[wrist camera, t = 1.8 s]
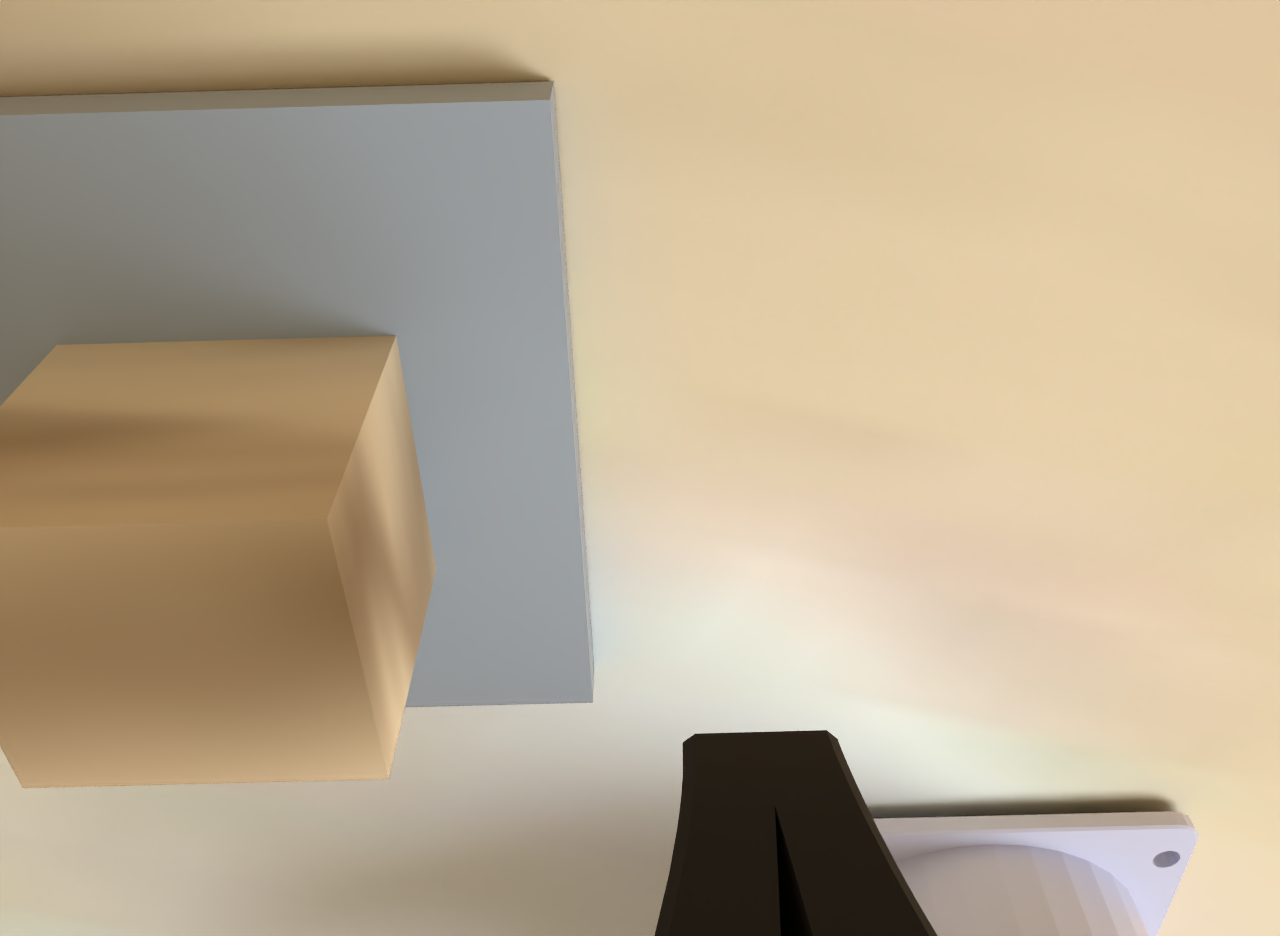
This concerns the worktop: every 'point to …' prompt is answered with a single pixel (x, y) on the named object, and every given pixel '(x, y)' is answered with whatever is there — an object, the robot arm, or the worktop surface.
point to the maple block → (209, 562)
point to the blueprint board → (345, 308)
